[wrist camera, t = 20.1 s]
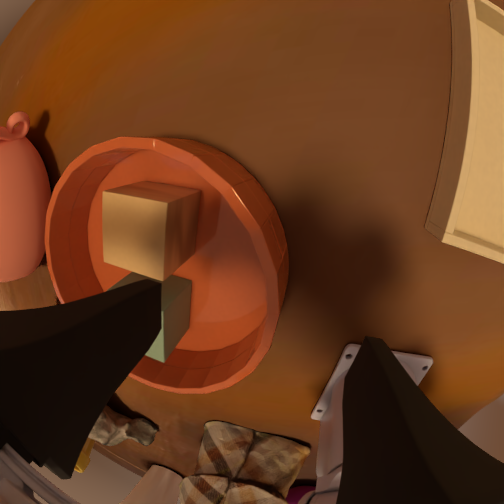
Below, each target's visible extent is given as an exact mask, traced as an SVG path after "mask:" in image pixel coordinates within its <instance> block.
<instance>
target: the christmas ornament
mask: <svg viewBox="0 0 504 504" xmlns="http://www.w3.org/2000/svg"><path fill="white" fill-rule="evenodd" d="M314 490H316V487H313V486H298V487H294V488H291V489H289V490H288V494H287V497H286V498H285V499H286V501H287V502H288V503H289V504H298V502H299V501H300V499H301V498H302V497H303V496H304V495H305V494H306V493H308V492H310V491H314Z"/></svg>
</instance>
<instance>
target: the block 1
mask: <svg viewBox="0 0 504 504" xmlns="http://www.w3.org/2000/svg"><path fill="white" fill-rule="evenodd" d="M200 198H201V190H197V189H191V188H186V187H180V186H174V185H168V184H162V183H156V182H150V181H141V182H137V183H132V184H128V185H124V186H120V187H116V188H112V189H109V190H105V191H103V199H102V232H103V257H104V262H106V263H109V264H112V265H115V266H118V267H120V268H123V269H126V270H129V271H132V272H135V273H138V274H141V275H145V276H148V277H151V278H154V279H157V280H160V281H164V280H166V279H167V278H168V277H169V276H170V275H171V274H172V273H173V272H175V271H176V270H177V269H178V268H179V267H180V266H181V265H182V264H184V263H185V262H186V261H187V260H188V259H189V258H190V257H192V256H193V255H194V254H195V243H196V233H197V224H198V215H199V206H200Z"/></svg>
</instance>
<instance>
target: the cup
mask: <svg viewBox="0 0 504 504" xmlns="http://www.w3.org/2000/svg"><path fill="white" fill-rule="evenodd" d="M182 480H183V478H182V477H181V476H179V475H178V474H176V473H175V472H173V471H171V470H169V469H166V468H164V467H161V466H158V465H152V466H151V468H150V469H149V470H148V471H147V473H146V474H145V475H144V476H143V478H142V479H141V480H140V481H139V482H138V484H137V485H136V486H135V487H134V489H133V490H132V491H131V492H130V493H129V495H128V496H127V497H126V498H125V499H124V501H122V502H120V503H119V504H177V501H178V497H179V494H180V489H179V486H178V485H179V484H180V482H181V481H182Z"/></svg>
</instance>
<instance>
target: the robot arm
mask: <svg viewBox="0 0 504 504" xmlns="http://www.w3.org/2000/svg"><path fill="white" fill-rule="evenodd" d="M161 297H162V283H159V282H156V281H153V280H150V279H144V280H140V281H136V282H133V283H130V284H127V285H124V286H121V287H118V288H115V289H112V290H109V291H106V292H102V293H99V294H96V295H93V296H89V297H86V298H82V299H79V300H76V301H72V302H68V303H64V304H59V305H54V306H49V307H43V308H36V309H26V310H16V311H0V504H42V503H41V502H39V501H38V500H36V499H35V498H34V495H33V491H34V492H35V493H37V494H38V495H39V496H40V497H41V498H43V499H44V500H45V501H46V502H48V503H49V504H80V503H78V502H77V501H75V500H74V499H73V498H71V497H70V496H68V495H67V494H65V493H64V492H63V491H61V490H60V489H59V488H57V487H56V486H55V485H53V484H52V483H51V482H50V481H48V480H47V479H46V478H45V477H44V476H42V475H41V474H40V473H39V472H38V471H36V470H35V469H34V468H33V467H32V466H31V465H30V463H31V462H32V461H33V462H35V463H36V464H37V465H38V466H39V467H42V466H43V465H44V466H45V467H47V468H48V469H49V470H50V471H52V472H53V473H54V474H55V475H57V476H58V477H59V478H61V479H70V478H71V476H72V473H73V471H74V468H75V466H76V463H77V461H78V458H79V456H80V453H81V451H82V449H83V447H84V445H85V443H86V440H87V438H88V436H89V434H90V432H91V430H92V429H93V427H94V425H95V423H96V421H97V420H98V418H99V416H100V414H101V413H102V411H103V409H104V408H105V406H106V404H107V403H108V401H109V400H110V398H111V396H112V395H113V394H114V392H115V391H116V390H117V388H118V387H119V386H120V385H121V383H122V382H123V381H124V380H125V379H126V377H127V376H128V375H129V374H130V372H131V371H132V370H133V369H134V368H135V366H136V365H137V364H138V363H139V362H140V360H141V359H142V358H143V357H144V355H145V354H146V353H147V352H148V350H149V349H150V347H151V346H152V344H153V343H154V341H155V339H156V338H157V336H158V334H159V332H160V331H161V329H162V309H161ZM347 354H351V355H350V356H347ZM432 364H433V359H432V358H431V357H429V356H422V355H415V354H409V353H403V352H396V351H391V350H390V348H389V347H388V346H387V345H386V343H385V342H384V341H383V340H382V339H379V338H374V337H369V336H365V338H364V340H363V342H362V345H357V344H348V345H347V346H346V347H345V348H344V351H343V353H342V355H341V357H340V359H339V361H338V363H337V365H336V367H335V369H334V372H333V374H332V376H331V377H330V379H329V381H328V383H327V385H326V387H325V389H324V391H323V393H322V395H321V397H320V399H319V400H318V402H317V404H316V406H315V408H314V409H313V411H312V413H311V418H312V419H315V420H320V433H319V444H318V454H317V463H316V474H317V477H318V478H317V482H316V490H314V491H310V492H308V493H306V494H305V495H304V496H303V497H302V498H301V499H300V501H299V502H298V504H504V463H502V462H500V461H499V460H497V459H495V458H494V457H492V456H490V455H489V454H487V453H486V452H485V451H483V450H482V449H480V448H479V447H478V446H476V445H475V444H474V443H472V442H471V441H470V440H469V439H468V438H466V437H465V436H464V435H463V434H462V433H461V432H460V431H458V430H457V429H456V428H455V427H454V426H453V425H452V424H451V423H450V422H449V421H448V420H447V419H446V418H445V417H444V416H443V415H442V414H441V413H440V412H439V411H438V410H437V409H436V407H435V406H434V405H433V404H432V403H431V402H430V401H429V399H428V398H427V397H426V396H425V394H424V393H423V392H422V391H421V390H420V388H419V387H418V385H419V383H420V382H421V380H422V379H423V377H424V376H425V374H426V373H427V371H428V370H429V368H430V367H431V365H432ZM424 366H425V367H424Z"/></svg>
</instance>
